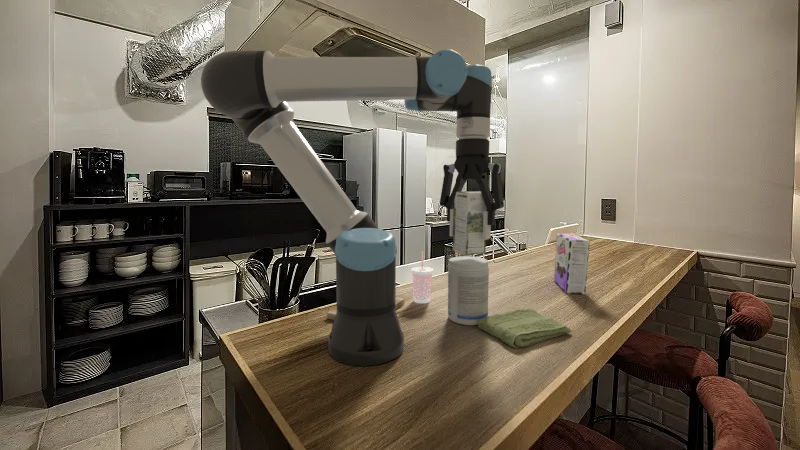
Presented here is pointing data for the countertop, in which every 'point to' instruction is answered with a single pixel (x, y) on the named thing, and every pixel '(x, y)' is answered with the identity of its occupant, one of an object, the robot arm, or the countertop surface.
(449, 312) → the supplement tub
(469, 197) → the syrup box
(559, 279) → the candy box
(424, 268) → the beverage cup
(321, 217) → the robot arm
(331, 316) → the beech cutting board
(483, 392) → the countertop surface
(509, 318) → the washcloth
